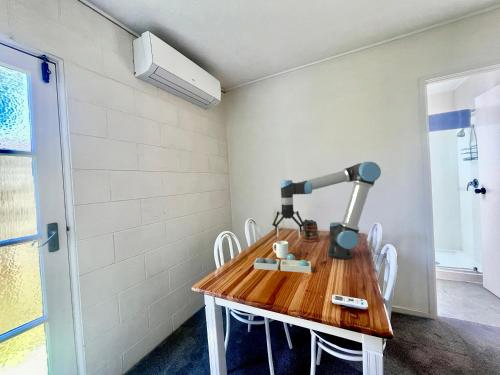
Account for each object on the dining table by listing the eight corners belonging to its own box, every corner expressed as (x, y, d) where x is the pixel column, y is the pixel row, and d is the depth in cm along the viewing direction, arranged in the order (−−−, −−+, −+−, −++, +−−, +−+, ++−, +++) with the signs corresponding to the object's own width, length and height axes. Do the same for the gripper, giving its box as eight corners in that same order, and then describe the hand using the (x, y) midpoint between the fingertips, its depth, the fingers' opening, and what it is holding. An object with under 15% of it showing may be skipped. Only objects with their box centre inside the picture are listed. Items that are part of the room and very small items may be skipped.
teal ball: (295, 261, 133) (295, 253, 133) (295, 264, 128) (294, 256, 128) (286, 260, 135) (286, 252, 135) (286, 264, 130) (286, 255, 129)
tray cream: (310, 267, 123) (310, 261, 123) (311, 274, 115) (310, 267, 115) (282, 265, 127) (281, 259, 127) (280, 271, 119) (280, 264, 119)
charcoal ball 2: (277, 265, 127) (276, 256, 126) (275, 269, 121) (275, 260, 121) (268, 264, 128) (268, 256, 128) (266, 268, 123) (266, 259, 122)
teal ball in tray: (308, 267, 122) (308, 258, 122) (308, 271, 116) (308, 262, 116) (298, 267, 123) (298, 258, 123) (298, 271, 118) (298, 261, 118)
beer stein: (315, 244, 166) (315, 220, 165) (298, 242, 173) (297, 219, 172) (320, 238, 182) (320, 216, 181) (304, 236, 189) (303, 215, 189)
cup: (284, 260, 136) (284, 245, 136) (269, 256, 144) (269, 242, 144) (290, 256, 142) (290, 242, 142) (276, 252, 150) (275, 239, 150)
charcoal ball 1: (266, 264, 128) (266, 256, 128) (265, 268, 123) (264, 259, 123) (258, 264, 130) (258, 255, 129) (256, 267, 124) (256, 258, 124)
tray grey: (279, 265, 128) (278, 259, 127) (277, 271, 120) (277, 264, 120) (257, 264, 131) (256, 258, 131) (254, 269, 123) (253, 263, 123)
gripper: (307, 203, 132) (308, 235, 132) (268, 203, 138) (270, 234, 138) (307, 204, 124) (308, 238, 125) (267, 205, 130) (268, 237, 131)
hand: (288, 236), depth 132 cm, fingers open, 13 cm apart
